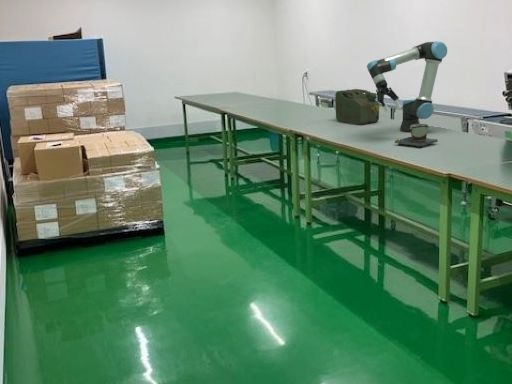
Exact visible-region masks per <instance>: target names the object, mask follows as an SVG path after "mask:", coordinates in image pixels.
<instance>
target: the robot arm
mask: <svg viewBox="0 0 512 384" xmlns="http://www.w3.org/2000/svg"><path fill="white" fill-rule="evenodd" d="M447 54H448V47H447V44H445V42H442V41H427V42H426V41H425V42H423V43H421V44H418V45H416V46H413V47H411V48H410V49H408V50H405V51H402V52H399V53H396V54H392V55H390V56H386V57H385V58H381V59H378V60H377V59H376V60H372V61H370V62H368V63H367V65H366V68H367V71H368V72H369V75H370V77H371V79H372V81H373V84H375V87H376V90H375V93H376V94H377V95H376V96H377V98H376V101H377V102H378V103H379V104H381V106H382V107H383V108H382V109H383V110H384V112H387V111H388V110H389V106H388V105H387V103H386V101H385V100H384V99H385V96H388V98H390V99H392V100H393V103H394V105H395V107H396V109H397V111H399V110H400V109H402V121H401V124H400V127H399V131H400V132H404V133H411V129H410V126H411V125H413V124H421V123H420V120H427V119H429V118H430V117H431V116H432V115H433V113H434V109H435V108H434V105H433V100H432V94H433V90H434V87H435V82H436V78H437V74H438V69H439V66H440V64H442V62H443V59H444V58H445V57H446V56H447ZM422 59H423V60H424V61H425V66H424V71H423V75H422V80H421V85H420V88H419V93H418V96H417V97H416V98H415V99H408V100H407V99H404V100H403V101H402V107H401V105H400V102H399V99H400V98H399V96H398V95H397V93H395V91H394V90H393V89H392V87H391V86H390V87H388V82H387V80H386V78H385V76H384V74H385V73H389V72H392V71H394V70H396V69H397V66H398V65H402V64H404V63H407V62H410V61H413V60H414V61H417V60H422Z"/></svg>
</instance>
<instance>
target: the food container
mask: <svg viewBox="0 0 512 384" xmlns="http://www.w3.org/2000/svg"><path fill="white" fill-rule="evenodd" d="M410 129H411V132H410V133H411V134H410V135H411V136H410V137H412V141H421V140H426V138H428V137H427V135H428V129H429V124H428V123H420V124H413V125H411V126H410Z"/></svg>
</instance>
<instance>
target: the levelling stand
mask: <svg viewBox="0 0 512 384" xmlns="http://www.w3.org/2000/svg"><path fill="white" fill-rule="evenodd" d="M437 142H439V141H438V138H430V137H429V138H428V137H426V140H421V141H412V136H409V137H404V138H397V139H395V140H394V144H397V145H398V146H405V145H409V146H416V147H415V148H418V149H419V148H420V149H421V148H423V147H424V146H426V145H429V144H430V145H431V144H433V143H437Z"/></svg>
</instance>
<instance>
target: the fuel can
mask: <svg viewBox="0 0 512 384" xmlns="http://www.w3.org/2000/svg"><path fill="white" fill-rule="evenodd" d="M334 95H335V97H334V100H335V119H336V122H338V123H343V124H349V125H355V126H361V125H369V124H374V122H375V123H378V122H379V120H380V103H379V102H378V100H377V92H375V93H374V92H371V91H369V90H367V89H362V88H361V89H360V88H353V89H345V90H337V91H336V92H335V94H334Z"/></svg>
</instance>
